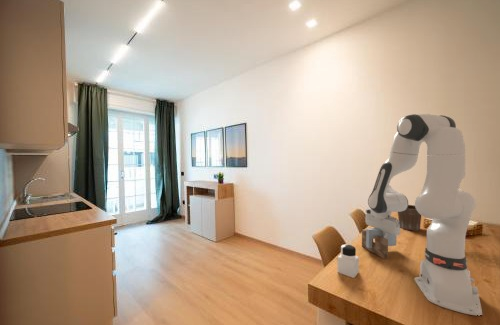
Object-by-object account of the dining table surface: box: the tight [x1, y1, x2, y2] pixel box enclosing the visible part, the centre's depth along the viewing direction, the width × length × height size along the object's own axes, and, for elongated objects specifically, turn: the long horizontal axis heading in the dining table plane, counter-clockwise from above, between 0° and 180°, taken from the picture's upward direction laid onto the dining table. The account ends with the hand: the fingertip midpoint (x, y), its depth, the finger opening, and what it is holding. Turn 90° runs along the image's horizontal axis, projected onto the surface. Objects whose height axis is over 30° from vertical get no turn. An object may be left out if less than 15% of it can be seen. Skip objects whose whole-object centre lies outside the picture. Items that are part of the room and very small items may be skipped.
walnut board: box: [361, 228, 389, 260], centre depth 115 cm, size 16×2×10 cm, turn 12°
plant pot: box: [397, 204, 422, 232], centre depth 154 cm, size 16×16×16 cm
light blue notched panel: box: [365, 227, 397, 248], centre depth 116 cm, size 18×2×10 cm, turn 102°
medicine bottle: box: [337, 244, 360, 279], centre depth 95 cm, size 7×7×12 cm
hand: (381, 237), depth 116 cm, fingers closed on light blue notched panel, 2 cm apart
